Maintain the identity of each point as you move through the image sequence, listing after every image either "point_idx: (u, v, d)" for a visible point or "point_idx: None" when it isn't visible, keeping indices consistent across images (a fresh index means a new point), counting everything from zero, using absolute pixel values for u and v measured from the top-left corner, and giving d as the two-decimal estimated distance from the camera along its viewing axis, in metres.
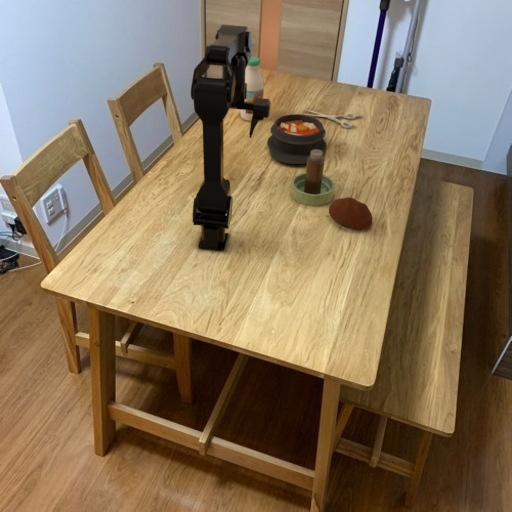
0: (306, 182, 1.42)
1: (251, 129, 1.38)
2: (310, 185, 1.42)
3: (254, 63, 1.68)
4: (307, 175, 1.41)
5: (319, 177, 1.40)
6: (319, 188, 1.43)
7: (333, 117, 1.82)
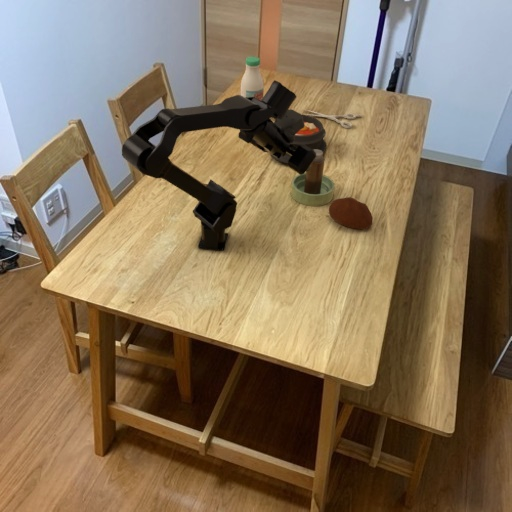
0: (306, 182, 1.42)
1: None
2: (310, 185, 1.42)
3: (254, 63, 1.68)
4: (307, 175, 1.41)
5: (319, 177, 1.40)
6: (319, 188, 1.43)
7: (333, 117, 1.82)
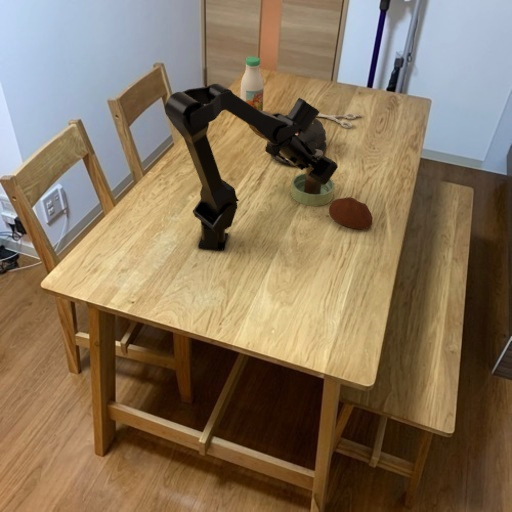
0: (306, 182, 1.42)
1: None
2: (310, 185, 1.42)
3: (254, 63, 1.68)
4: (307, 175, 1.41)
5: None
6: (319, 188, 1.43)
7: (333, 117, 1.82)
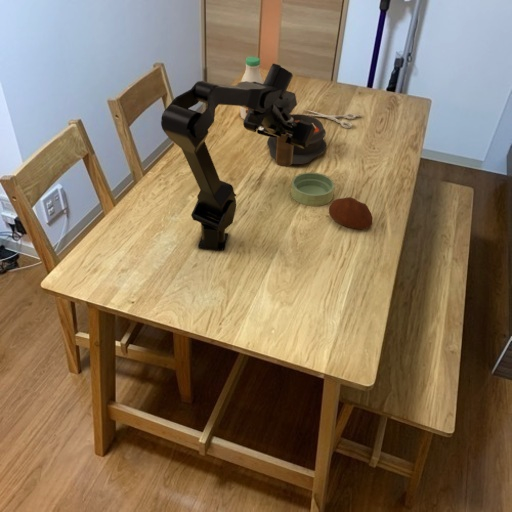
0: (279, 150, 1.43)
1: None
2: (284, 153, 1.42)
3: (254, 63, 1.68)
4: (280, 143, 1.41)
5: None
6: (292, 155, 1.44)
7: (333, 117, 1.82)
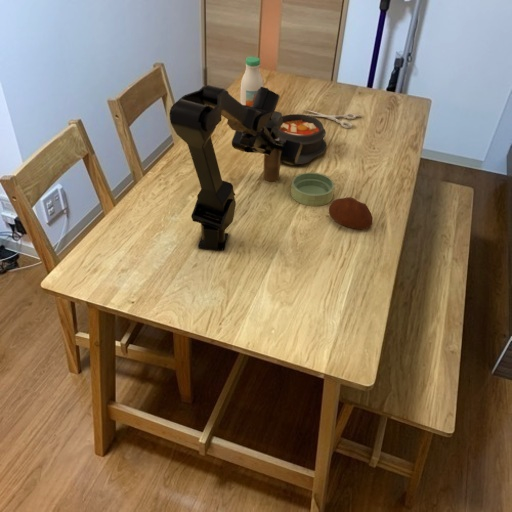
0: (267, 169, 1.48)
1: None
2: (271, 171, 1.48)
3: (254, 63, 1.68)
4: (267, 162, 1.46)
5: (279, 161, 1.47)
6: (279, 172, 1.50)
7: (333, 117, 1.82)
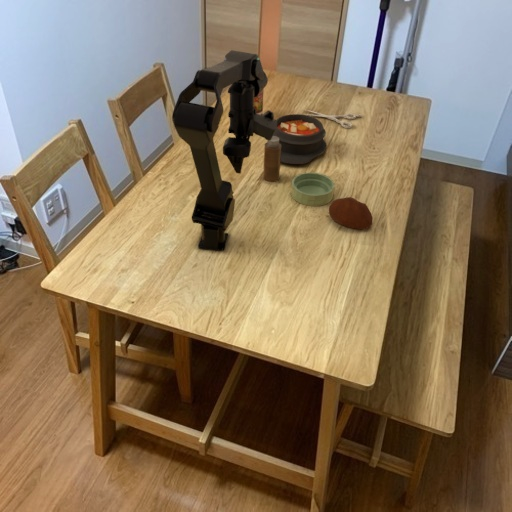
0: (267, 169, 1.48)
1: None
2: (271, 171, 1.48)
3: None
4: (267, 162, 1.46)
5: (279, 161, 1.47)
6: (279, 172, 1.50)
7: (333, 117, 1.82)
